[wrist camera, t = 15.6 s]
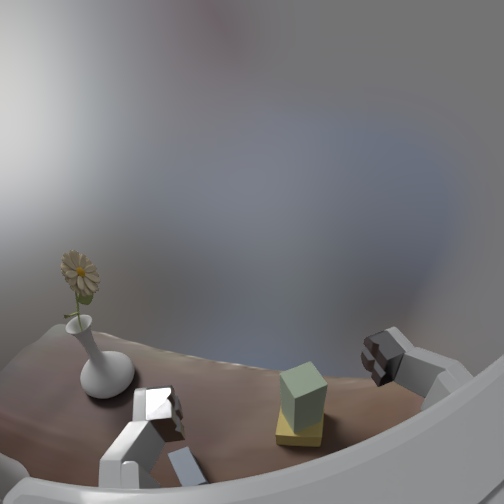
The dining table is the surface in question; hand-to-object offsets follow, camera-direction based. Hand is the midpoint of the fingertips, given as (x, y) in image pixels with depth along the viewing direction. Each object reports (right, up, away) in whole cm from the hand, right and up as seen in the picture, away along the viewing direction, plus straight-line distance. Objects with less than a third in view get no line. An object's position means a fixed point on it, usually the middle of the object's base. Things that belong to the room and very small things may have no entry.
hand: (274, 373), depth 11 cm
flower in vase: (-27, -19, +36) cm, 48 cm away
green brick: (+6, -17, +23) cm, 29 cm away
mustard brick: (+6, -20, +25) cm, 33 cm away
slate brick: (-9, -25, +19) cm, 32 cm away
